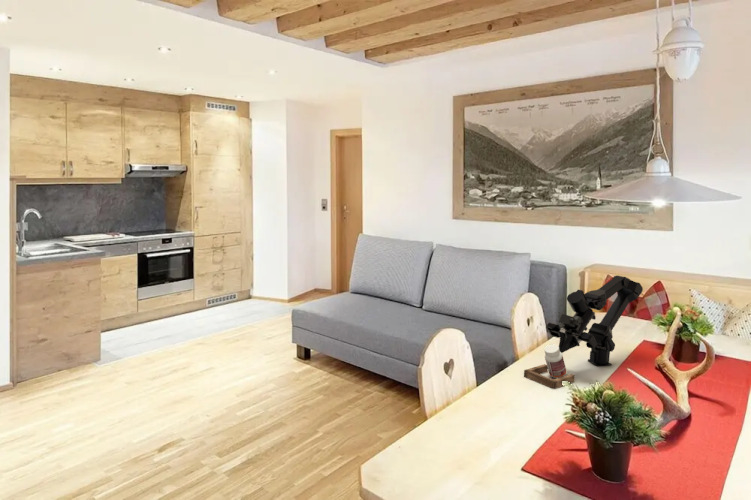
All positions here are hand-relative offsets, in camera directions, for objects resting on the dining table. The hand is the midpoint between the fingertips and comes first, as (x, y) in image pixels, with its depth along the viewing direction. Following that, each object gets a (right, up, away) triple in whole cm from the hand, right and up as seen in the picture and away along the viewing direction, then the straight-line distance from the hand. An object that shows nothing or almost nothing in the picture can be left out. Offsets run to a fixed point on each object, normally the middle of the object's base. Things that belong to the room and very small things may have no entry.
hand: (559, 352), depth 189 cm
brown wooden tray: (-4, -9, -1) cm, 10 cm away
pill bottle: (0, -8, +1) cm, 8 cm away
